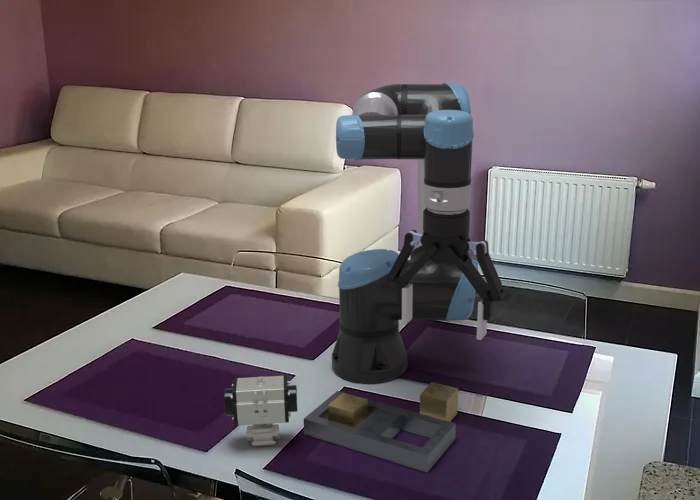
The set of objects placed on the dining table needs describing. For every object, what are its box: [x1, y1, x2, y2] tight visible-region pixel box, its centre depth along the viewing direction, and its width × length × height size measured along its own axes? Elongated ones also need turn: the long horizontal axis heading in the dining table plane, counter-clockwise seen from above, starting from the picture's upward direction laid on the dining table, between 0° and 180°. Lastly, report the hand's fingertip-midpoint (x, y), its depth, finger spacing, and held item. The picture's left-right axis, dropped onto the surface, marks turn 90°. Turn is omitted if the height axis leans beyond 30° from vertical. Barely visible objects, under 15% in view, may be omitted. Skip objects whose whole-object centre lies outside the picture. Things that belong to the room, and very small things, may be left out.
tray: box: [303, 390, 457, 474], centre depth 132 cm, size 23×11×3 cm, turn 60°
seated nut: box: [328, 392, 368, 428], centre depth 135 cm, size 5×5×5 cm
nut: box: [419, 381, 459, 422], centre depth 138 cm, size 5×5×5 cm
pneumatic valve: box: [223, 375, 298, 448], centre depth 130 cm, size 6×12×12 cm, turn 95°
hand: (443, 328), depth 134 cm, fingers open, 13 cm apart
